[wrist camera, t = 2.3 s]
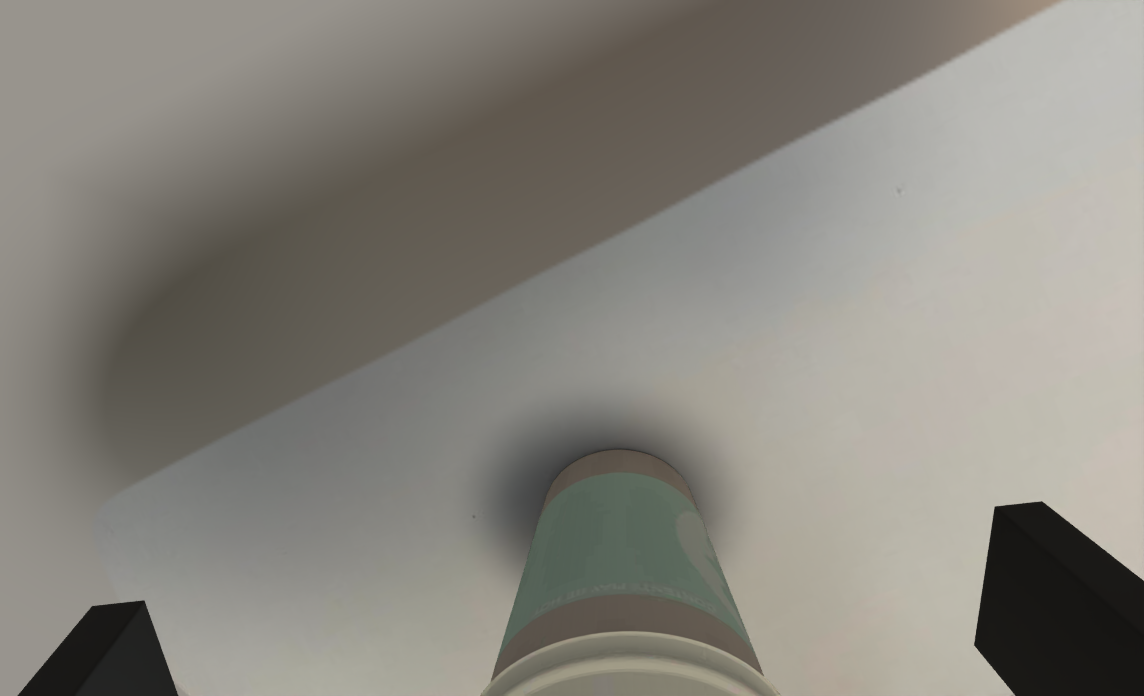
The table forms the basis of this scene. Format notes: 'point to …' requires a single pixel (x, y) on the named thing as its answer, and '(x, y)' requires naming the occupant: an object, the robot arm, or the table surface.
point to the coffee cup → (624, 593)
